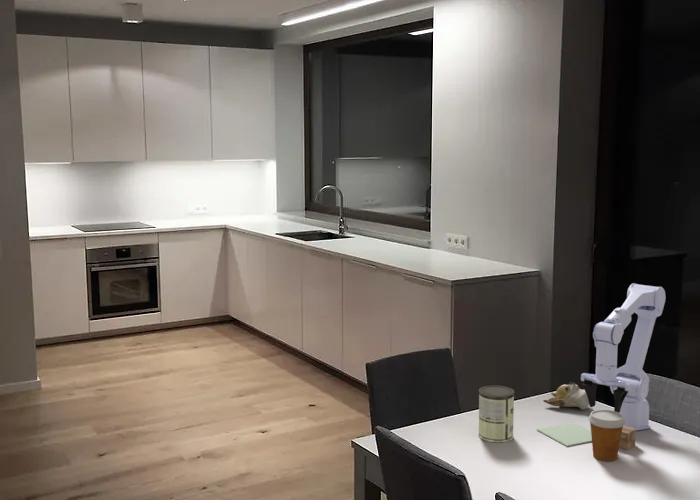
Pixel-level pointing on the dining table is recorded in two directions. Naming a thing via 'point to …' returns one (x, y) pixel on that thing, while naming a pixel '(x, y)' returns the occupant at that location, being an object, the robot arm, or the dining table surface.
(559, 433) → the mat
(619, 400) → the robot arm
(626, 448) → the letter cube
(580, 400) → the ceramic sculpture
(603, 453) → the disposable coffee cup
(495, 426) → the coffee can
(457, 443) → the dining table surface
